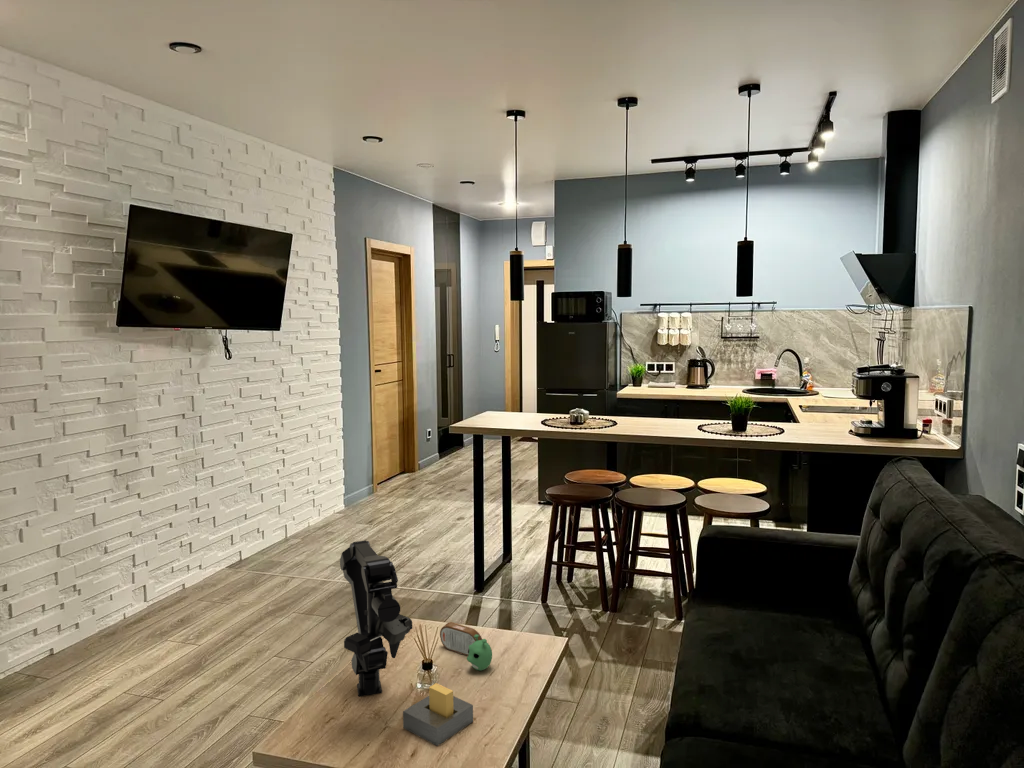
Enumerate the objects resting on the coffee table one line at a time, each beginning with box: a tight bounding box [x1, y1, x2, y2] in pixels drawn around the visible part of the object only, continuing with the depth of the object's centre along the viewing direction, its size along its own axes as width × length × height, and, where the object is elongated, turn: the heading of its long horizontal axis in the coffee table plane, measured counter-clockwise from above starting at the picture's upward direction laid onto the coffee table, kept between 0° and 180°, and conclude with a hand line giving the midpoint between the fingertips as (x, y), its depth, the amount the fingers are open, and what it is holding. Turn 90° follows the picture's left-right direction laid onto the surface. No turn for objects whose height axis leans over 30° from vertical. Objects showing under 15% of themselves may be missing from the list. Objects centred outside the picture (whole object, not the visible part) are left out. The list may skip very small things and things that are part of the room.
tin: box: [439, 621, 483, 656], centre depth 216 cm, size 15×3×8 cm, turn 58°
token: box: [428, 682, 454, 718], centre depth 177 cm, size 6×2×10 cm, turn 51°
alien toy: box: [466, 634, 493, 671], centre depth 206 cm, size 7×8×10 cm
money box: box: [402, 695, 474, 747], centre depth 178 cm, size 12×13×4 cm
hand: (380, 664), depth 183 cm, fingers open, 9 cm apart
